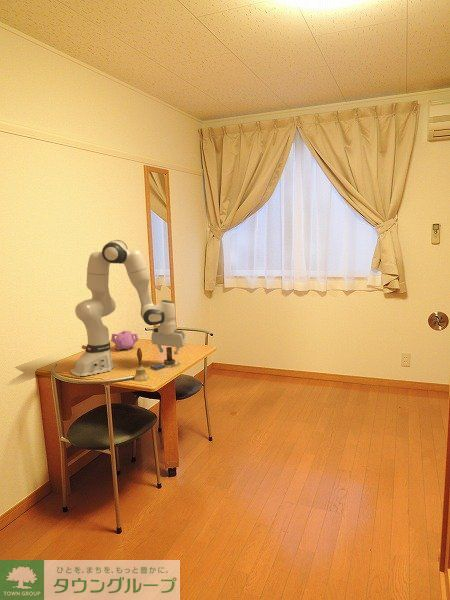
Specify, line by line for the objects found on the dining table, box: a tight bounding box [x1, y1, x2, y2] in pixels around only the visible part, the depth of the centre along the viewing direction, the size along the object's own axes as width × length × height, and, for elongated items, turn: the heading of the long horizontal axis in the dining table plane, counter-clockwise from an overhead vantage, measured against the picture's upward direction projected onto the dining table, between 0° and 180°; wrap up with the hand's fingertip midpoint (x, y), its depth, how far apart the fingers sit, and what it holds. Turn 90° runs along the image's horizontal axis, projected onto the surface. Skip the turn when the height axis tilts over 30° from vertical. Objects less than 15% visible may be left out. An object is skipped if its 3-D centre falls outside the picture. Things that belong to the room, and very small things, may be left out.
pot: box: [110, 330, 139, 351], centre depth 262 cm, size 18×17×12 cm
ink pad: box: [149, 363, 167, 371], centre depth 223 cm, size 6×5×1 cm
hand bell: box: [133, 347, 150, 382], centre depth 206 cm, size 8×8×16 cm
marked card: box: [160, 361, 181, 368], centre depth 229 cm, size 8×8×1 cm
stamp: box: [163, 346, 176, 365], centre depth 228 cm, size 5×4×9 cm
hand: (168, 353), depth 229 cm, fingers open, 8 cm apart
